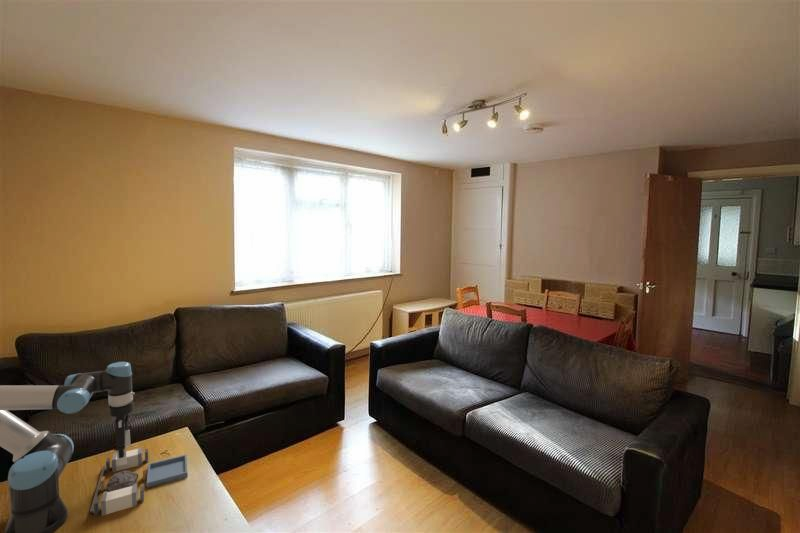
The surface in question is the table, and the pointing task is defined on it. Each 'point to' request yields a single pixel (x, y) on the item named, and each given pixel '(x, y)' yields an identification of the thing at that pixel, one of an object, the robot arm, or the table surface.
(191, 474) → the table surface
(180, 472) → the tray
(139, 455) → the fuse
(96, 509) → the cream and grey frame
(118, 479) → the rock
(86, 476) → the table surface
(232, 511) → the table surface
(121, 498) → the fuse
